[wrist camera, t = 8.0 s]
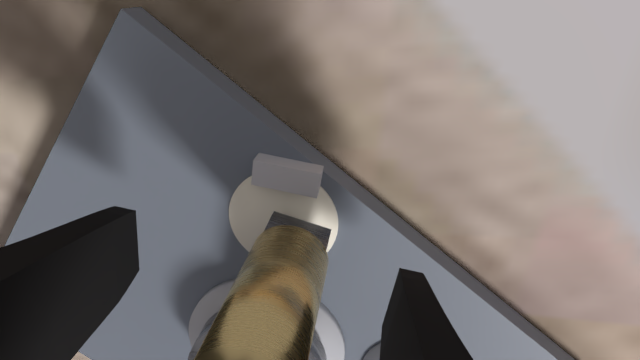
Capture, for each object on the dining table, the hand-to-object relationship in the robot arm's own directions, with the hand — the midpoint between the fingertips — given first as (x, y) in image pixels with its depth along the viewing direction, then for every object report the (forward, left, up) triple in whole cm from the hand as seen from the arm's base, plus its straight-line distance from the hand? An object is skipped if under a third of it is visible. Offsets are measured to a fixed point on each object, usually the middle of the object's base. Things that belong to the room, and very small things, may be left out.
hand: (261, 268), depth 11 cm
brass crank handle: (-1, -3, -2) cm, 4 cm away
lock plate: (-2, -5, -3) cm, 7 cm away
